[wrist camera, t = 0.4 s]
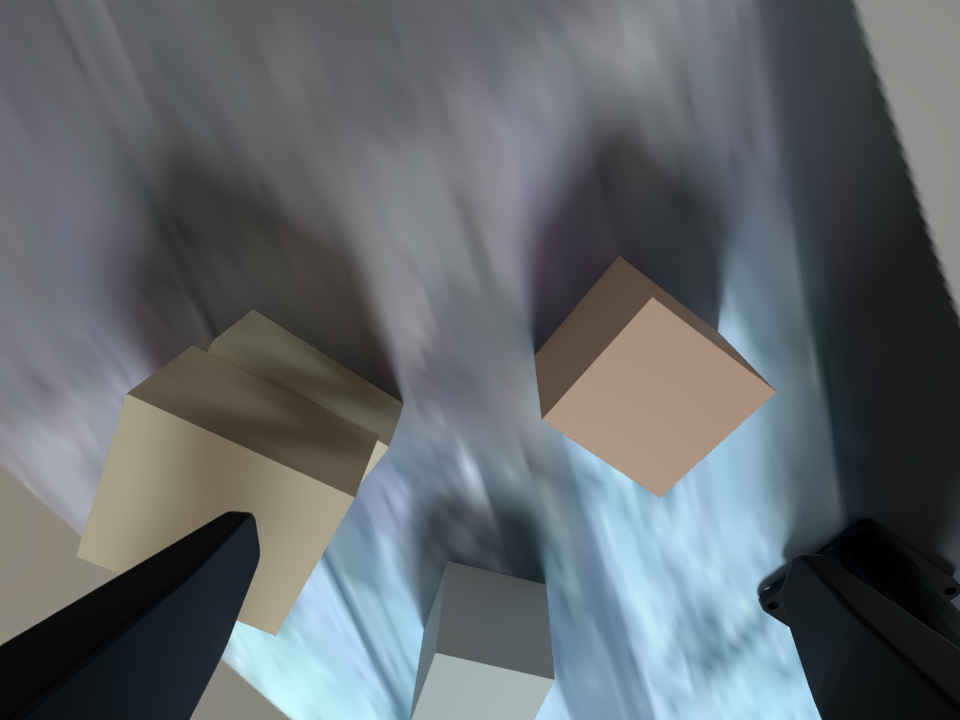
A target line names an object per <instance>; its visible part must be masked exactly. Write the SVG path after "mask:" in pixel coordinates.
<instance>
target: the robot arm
mask: <svg viewBox="0 0 960 720" xmlns="http://www.w3.org/2000/svg"><path fill="white" fill-rule="evenodd" d="M868 530H869V531H868ZM866 531H867V532H866ZM259 559H260V544H259V538H258V532H257V525H256V520H255V517H254V515H253V514H252V513H250V512H241V511H228V512H226V513H224V514H222V515H220V516H219V517H217V518H215V519H213V520H212V521H210V522H208V523H207V524H205V525H203V526H202V527H200V528H198V529H197V530H195V531H193V532H192V533H190V534H188V535H186V536H185V537H183V538H181V539H180V540H178V541H176V542H175V543H173V544H171V545H170V546H168V547H166V548H164V549H163V550H161V551H159V552H158V553H156V554H154V555H153V556H151V557H149V558H148V559H146V560H144V561H143V562H141V563H139V564H137V565H136V566H134V567H132V568H131V569H129V570H127V571H126V572H124V573H122V574H121V575H119V576H117V577H116V578H114V579H112V580H110V581H109V582H107V583H105V584H104V585H102V586H100V587H99V588H97V589H95V590H94V591H92V592H90V593H88V594H87V595H85V596H84V597H82V598H80V599H78V600H77V601H75V602H73V603H72V604H70V605H68V606H67V607H65V608H63V609H62V610H60V611H58V612H56V613H55V614H53V615H51V616H50V617H48V618H46V619H45V620H43V621H41V622H40V623H38V624H36V625H34V626H33V627H31V628H30V629H28V630H26V631H24V632H23V633H21V634H19V635H18V636H16V637H14V638H12V639H11V640H9V641H7V642H6V643H4V644H2V645H1V646H0V720H190V718H191V716H192V714H193V712H194V710H195V708H196V706H197V704H198V702H199V700H200V698H201V696H202V694H203V692H204V690H205V689H206V687H207V685H208V682H209V681H210V679H211V677H212V675H213V673H214V671H215V669H216V667H217V665H218V663H219V661H220V659H221V657H222V655H223V652H224V650H225V648H226V646H227V643H228V641H229V638H230V636H231V633H232V631H233V628H234V626H235V623H236V620H237V618H238V615H239V613H240V610H241V608H242V605H243V602H244V600H245V597H246V595H247V592H248V589H249V587H250V584H251V582H252V579H253V577H254V574H255V571H256V569H257V566H258V563H259ZM959 594H960V584H959V583H958V582H957V581H956V580H955V579H954V578H953V577H952V576H950V575H949V574H947V573H946V572H945V571H943V570H942V569H941V568H939V567H938V566H936V565H935V564H934V563H932V562H931V561H930V560H928V559H927V558H925V557H924V556H923V555H921V554H920V553H919V552H917V551H916V550H915V549H913V548H912V547H910V546H909V545H908V544H906V543H905V542H904V541H902V540H901V539H899V538H898V537H897V536H895V535H894V534H893V533H891V532H890V531H889V530H887V529H886V528H884V527H883V526H882V525H880V524H879V523H878V522H876V521H875V520H873V519H863V520H861V521H859V522H857V523H856V524H854V525H853V526H852V527H851V528H849V529H848V530H847V531H845V532H844V533H843V534H841V535H840V536H839V537H837V538H836V539H835V540H833V541H832V542H831V543H829V544H828V545H827V546H825V547H824V548H823V549H821V550H820V551H819V552H817V553H816V554H804V553H800V554H797V555H796V556H795V557H794V558H793V560H792V562H791V565H790V568H789V571H788V574H787V576H785V577H784V578H783V579H781V580H780V581H779V582H777V583H776V584H775V585H773V586H772V587H771V588H769V589H768V590H767V591H765V592H764V593H763V594H762V595H761V596H760V597H759V603H760V605H761V607H762V609H763V610H764V611H765V612H766V613H768V614H770V615H771V616H773V617H774V618H776V619H777V620H779V621H781V622H782V623H784V624H785V625H787V626H788V627H790V630H791V633H792V636H793V639H794V642H795V645H796V648H797V652H798V655H799V658H800V661H801V664H802V667H803V670H804V673H805V676H806V679H807V682H808V685H809V688H810V691H811V694H812V696H813V699H814V702H815V704H816V707H817V709H818V712H819V714H820V716H821V719H822V720H960V611H959V610H958V609H957V608H956V607H955V606H954V605H953V603H952V602H951V601H950V600H952V599H953V598H955V597H957V596H958V595H959Z"/></svg>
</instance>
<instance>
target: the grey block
mask: <svg viewBox="0 0 960 720" xmlns="http://www.w3.org/2000/svg"><path fill="white" fill-rule="evenodd" d="M554 680H555V679H554V667H553V656H552V645H551V633H550V622H549V611H548V599H547V588H546V585H545V584H541V583H537V582H533V581H529V580H525V579H521V578H516V577H512V576H508V575H504V574H500V573H496V572H492V571H487V570H483V569H479V568H475V567H471V566H467V565H463V564H458V563H454V562H450V561H447V563H446V566H445V569H444V572H443V575H442V578H441V581H440V584H439V587H438V590H437V593H436V596H435V599H434V602H433V605H432V608H431V611H430V614H429V616H428V619H427V622H426V625H425V628H424V632H423V639H422V645H421V652H420V658H419V664H418V671H417V677H416V683H415V690H414V696H413V703H412V709H411V715H410V720H534V719H535V717H536V715H537V713H538V711H539V709H540V708H541V706H542V704H543V702H544V700H545V698H546V696H547V694H548V692H549V690H550V688H551V686H552V684H553V682H554Z"/></svg>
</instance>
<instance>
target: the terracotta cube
mask: <svg viewBox="0 0 960 720" xmlns="http://www.w3.org/2000/svg"><path fill="white" fill-rule="evenodd" d="M534 359H535V368H536V376H537V384H538V392H539V401H540V409H541V417H542V420H543V421H544V422H546V423H547V424H549V425H550V426H552V427H553V428H555V429H556V430H558V431H560V432H561V433H563V434H564V435H566V436H567V437H569V438H570V439H572V440H573V441H575V442H576V443H578V444H579V445H581V446H582V447H584V448H585V449H587V450H588V451H590V452H591V453H593V454H594V455H596V456H597V457H599V458H600V459H602V460H603V461H605V462H606V463H608V464H609V465H611V466H613V467H614V468H616V469H617V470H619V471H620V472H622V473H623V474H625V475H626V476H628V477H629V478H631V479H632V480H634V481H635V482H637V483H638V484H640V485H641V486H643V487H644V488H646V489H647V490H649V491H650V492H652V493H653V494H655V495H656V496H658V497H659V498H660V497H661V496H662V495H663V494H665V493H666V492H667V491H668V490H669V489H670V488H671V487H672V486H673V485H674V484H675V483H677V482H678V481H679V480H680V479H681V478H682V477H683V476H684V475H685V474H686V473H688V472H689V471H690V470H691V469H692V468H693V467H694V466H695V465H696V464H697V463H698V462H700V461H701V460H702V459H703V458H704V457H705V456H706V455H707V454H708V453H709V452H711V451H712V450H713V449H714V448H715V447H716V446H717V445H718V444H719V443H720V442H721V441H723V440H724V439H725V438H726V437H727V436H728V435H729V434H730V433H731V432H732V431H733V430H735V429H736V428H737V427H738V426H739V425H740V424H741V423H742V422H743V421H744V420H746V419H747V418H748V417H749V416H750V415H751V414H752V413H753V412H754V411H755V410H756V409H758V408H759V407H760V406H761V405H762V404H763V403H764V402H765V401H766V400H767V399H769V398H770V397H771V396H772V395H773V394H774V393H775V392H776V391H775V390H774V389H773V388H772V387H771V386H770V385H769V384H768V383H767V382H766V381H765V380H764V379H763V378H762V377H761V375H760V374H759V373H758V372H757V371H756V370H755V369H754V368H753V367H752V366H751V365H750V364H749V363H748V362H747V361H746V360H745V359H744V358H743V357H742V356H741V355H740V354H739V353H738V352H737V351H736V350H735V349H734V348H733V347H732V346H731V345H730V344H729V343H728V342H727V341H726V340H725V338H724V337H723V336H722V335H721V334H720V333H719V332H718V331H716V330H715V329H714V328H712V327H711V326H710V325H709V324H707V323H706V322H705V321H703V320H702V319H701V318H699V317H698V316H697V315H696V314H694V313H693V312H692V311H690V310H689V309H688V308H686V307H685V306H684V305H683V304H681V303H680V302H679V301H677V300H676V299H675V298H673V297H672V296H671V295H670V294H668V293H667V292H666V291H664V290H663V289H662V288H660V287H659V286H658V285H657V284H655V283H654V282H653V281H651V280H650V279H649V278H647V277H646V276H645V275H644V274H642V273H641V272H640V271H638V270H637V269H636V268H634V267H633V266H632V265H631V264H629V263H628V262H627V261H625V260H624V259H623V258H622V257H620V256H618V257H617V258H616V260H615V261H614V262H613V263H612V264H611V266H610V267H609V268H608V269H607V270H606V271H605V273H604V274H603V275H602V276H601V277H600V279H599V280H598V281H597V282H596V283H595V285H594V286H593V287H592V288H591V289H590V290H589V292H588V293H587V294H586V295H585V296H584V298H583V299H582V300H581V301H580V302H579V304H578V305H577V306H576V307H575V308H574V309H573V311H572V312H571V313H570V314H569V315H568V317H567V318H566V319H565V320H564V321H563V323H562V324H561V325H560V326H559V327H558V328H557V330H556V331H555V332H554V333H553V334H552V336H551V337H550V338H549V339H548V340H547V342H546V343H545V344H544V345H543V346H542V347H541V349H540V350H539V351H538V352H537V353H536V355H535V356H534Z"/></svg>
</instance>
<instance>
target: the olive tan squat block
mask: <svg viewBox="0 0 960 720" xmlns="http://www.w3.org/2000/svg"><path fill="white" fill-rule="evenodd" d="M207 352H208V353H210V354H212V355H214V356H216V357H218V358H220V359H222V360H224V361H226V362H228V363H231V364H233V365H235V366H237V367H239V368H241V369H243V370H245V371H247V372H249V373H251V374H253V375H256V376H258V377H260V378H262V379H264V380H266V381H268V382H270V383H272V384H274V385H276V386H278V387H281V388H283V389H285V390H287V391H289V392H291V393H293V394H295V395H297V396H299V397H301V398H303V399H306V400H308V401H310V402H312V403H314V404H316V405H318V406H320V407H322V408H324V409H326V410H328V411H331V412H333V413H335V414H337V415H339V416H341V417H343V418H345V419H347V420H349V421H351V422H353V423H356V424H358V425H360V426H362V427H364V428H366V429H368V430H370V431H372V432H374V433H376V434H378V435H379V438H378V440H377V443H376V445H375V448H374V450H373V453H372V455H371V458H370V460H369V463H368V465H367V468H366V470H365V473H364V476H363V478H362V481H363V480H364V478H365V477H366V476H367V475H368V473H369V472H370V471H371V469H372V468H373V467H374V466H375V464H376V463H377V462H378V460H379V459H380V458H381V457H382V455H383V454H384V453H385V452H386V450H387V449H388V448H389V446H390V443H391V440H392V437H393V434H394V431H395V428H396V425H397V422H398V419H399V417H400V414H401V411H402V408H403V405H404V404H403V403H401V402H400V401H398V400H397V399H395V398H393V397H392V396H390V395H389V394H387V393H385V392H384V391H382V390H381V389H379V388H378V387H376V386H374V385H373V384H371V383H370V382H368V381H366V380H365V379H363V378H362V377H360V376H358V375H357V374H355V373H354V372H352V371H351V370H349V369H347V368H346V367H344V366H343V365H341V364H339V363H338V362H336V361H335V360H333V359H332V358H330V357H328V356H327V355H325V354H324V353H322V352H320V351H319V350H317V349H316V348H314V347H312V346H311V345H309V344H308V343H306V342H305V341H303V340H301V339H300V338H298V337H297V336H295V335H293V334H292V333H290V332H289V331H287V330H286V329H284V328H282V327H281V326H279V325H278V324H276V323H274V322H273V321H271V320H270V319H268V318H266V317H265V316H263V315H262V314H260V313H259V312H257V311H255V310H254V309H253V310H252V311H250V312H249V313H248V314H247V315H245V316H244V317H243V318H241V319H240V320H239V321H238V322H236V323H235V324H234V325H232V326H231V327H230V328H229V329H227V330H226V331H225V332H223V333H222V334H221V335H220V336H218V337H217V338H216V339H214V340H213V342H212V343H211V345H210V347H209V349H208V351H207ZM362 481H361V482H362ZM360 484H361V483H360Z"/></svg>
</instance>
